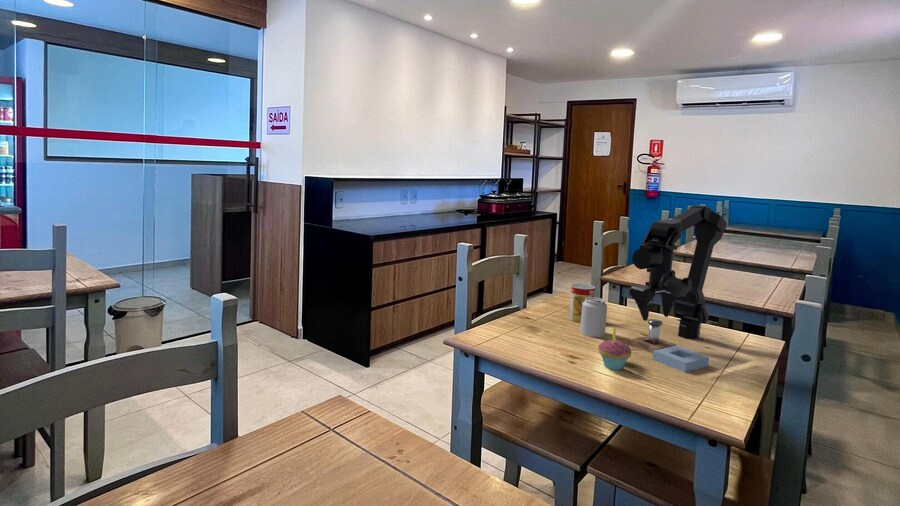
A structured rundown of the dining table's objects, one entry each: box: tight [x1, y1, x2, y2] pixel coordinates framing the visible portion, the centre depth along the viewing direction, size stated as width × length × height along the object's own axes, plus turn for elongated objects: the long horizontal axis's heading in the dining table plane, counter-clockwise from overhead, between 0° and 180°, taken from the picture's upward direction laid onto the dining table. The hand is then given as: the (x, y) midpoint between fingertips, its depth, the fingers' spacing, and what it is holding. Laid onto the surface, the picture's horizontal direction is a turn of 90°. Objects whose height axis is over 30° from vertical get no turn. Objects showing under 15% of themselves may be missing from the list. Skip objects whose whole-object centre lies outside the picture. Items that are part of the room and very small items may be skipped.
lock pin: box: [647, 318, 663, 345], centre depth 155 cm, size 4×4×8 cm
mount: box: [629, 335, 677, 354], centre depth 156 cm, size 9×9×2 cm
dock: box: [652, 344, 710, 373], centre depth 144 cm, size 10×10×4 cm
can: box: [579, 296, 608, 338], centre depth 166 cm, size 8×8×12 cm
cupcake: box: [597, 324, 632, 371], centre depth 141 cm, size 9×8×12 cm
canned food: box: [568, 283, 596, 324], centre depth 184 cm, size 8×8×12 cm
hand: (655, 318), depth 155 cm, fingers open, 9 cm apart
